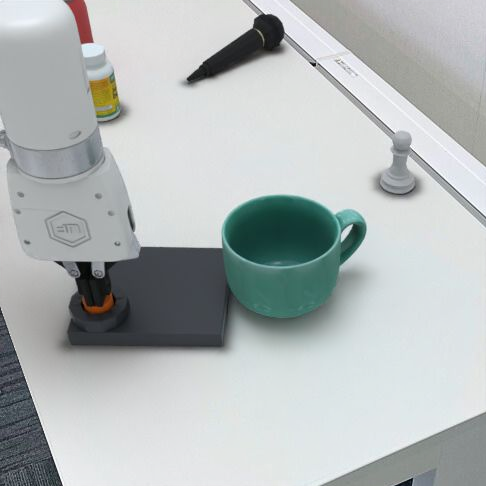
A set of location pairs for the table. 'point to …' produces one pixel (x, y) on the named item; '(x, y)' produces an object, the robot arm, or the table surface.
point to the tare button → (98, 310)
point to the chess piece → (399, 166)
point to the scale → (159, 301)
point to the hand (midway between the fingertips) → (97, 297)
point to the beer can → (81, 20)
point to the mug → (287, 252)
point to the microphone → (244, 45)
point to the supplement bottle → (101, 82)
